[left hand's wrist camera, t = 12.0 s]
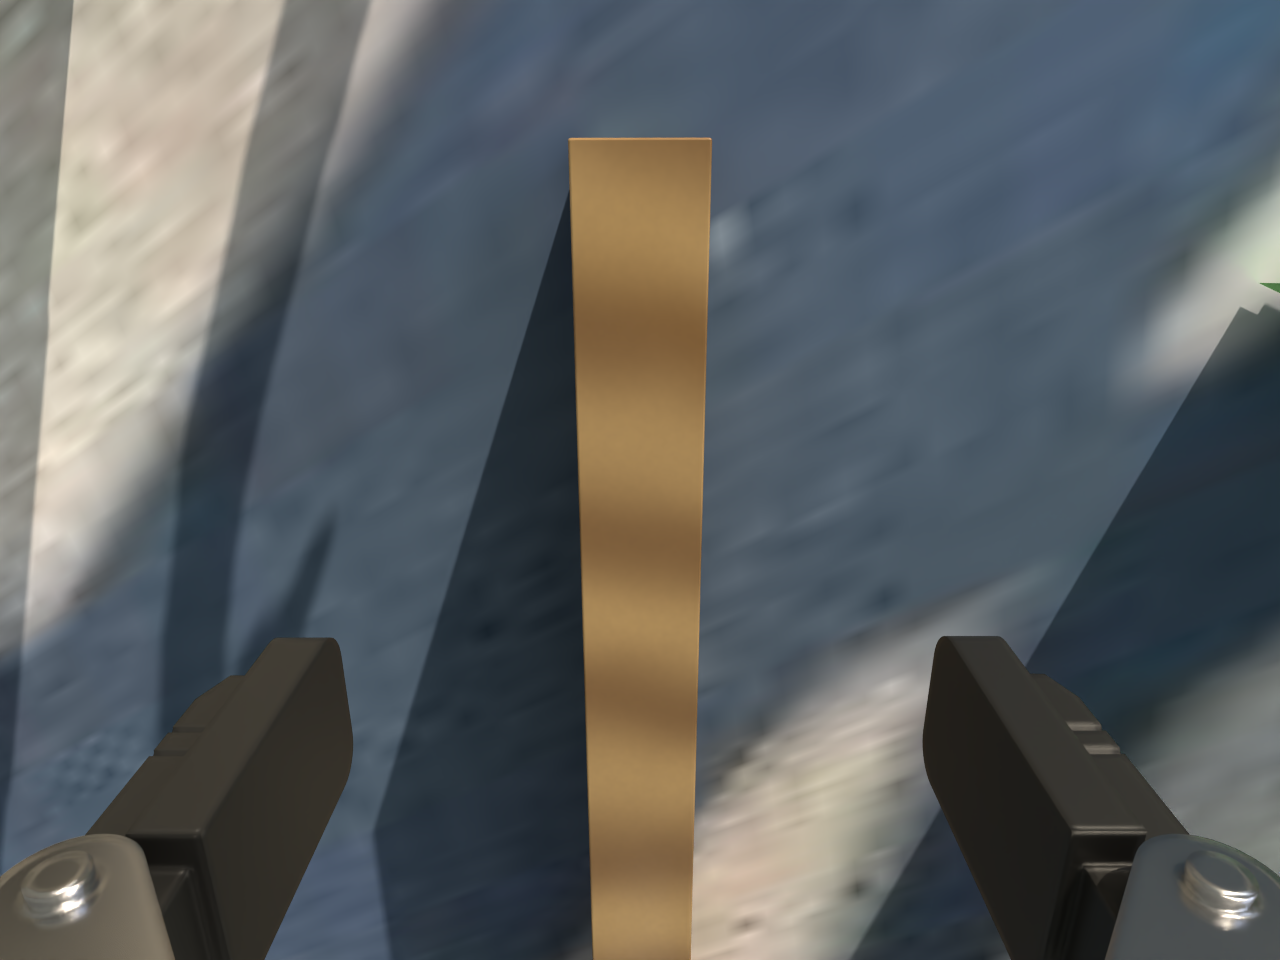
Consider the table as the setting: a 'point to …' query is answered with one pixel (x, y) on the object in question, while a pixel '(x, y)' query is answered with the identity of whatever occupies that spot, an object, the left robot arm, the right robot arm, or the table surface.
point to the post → (640, 522)
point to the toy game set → (1272, 286)
